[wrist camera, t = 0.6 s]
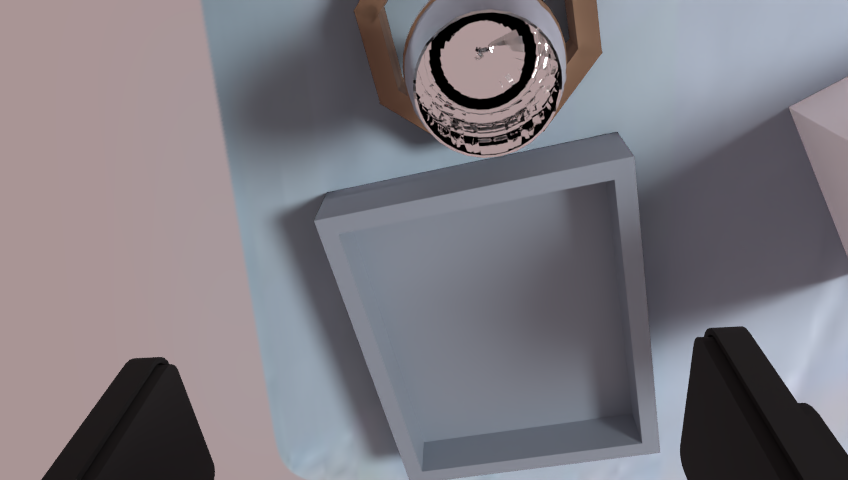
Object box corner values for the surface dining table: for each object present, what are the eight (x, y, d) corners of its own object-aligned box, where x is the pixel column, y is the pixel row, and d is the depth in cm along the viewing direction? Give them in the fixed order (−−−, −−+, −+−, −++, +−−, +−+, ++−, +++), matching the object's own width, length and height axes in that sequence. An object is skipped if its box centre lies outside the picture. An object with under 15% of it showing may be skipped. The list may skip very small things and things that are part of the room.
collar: (572, -131, 26) (583, -134, 24) (598, 102, 31) (609, 117, 29) (342, -67, 28) (332, -64, 26) (400, 145, 33) (396, 162, 30)
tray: (617, 131, 32) (634, 156, 29) (645, 411, 41) (660, 452, 38) (327, 192, 34) (313, 220, 31) (414, 443, 43) (411, 484, 40)
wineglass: (466, -71, 28) (470, -56, 17) (562, 8, 29) (621, 66, 18) (394, 36, 30) (359, 107, 19) (487, 104, 31) (501, 204, 21)
